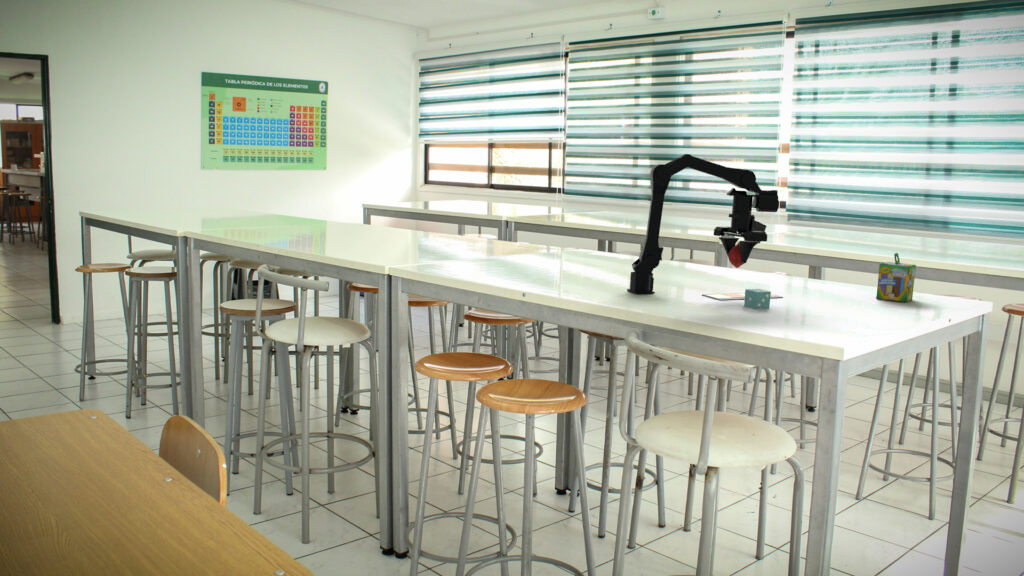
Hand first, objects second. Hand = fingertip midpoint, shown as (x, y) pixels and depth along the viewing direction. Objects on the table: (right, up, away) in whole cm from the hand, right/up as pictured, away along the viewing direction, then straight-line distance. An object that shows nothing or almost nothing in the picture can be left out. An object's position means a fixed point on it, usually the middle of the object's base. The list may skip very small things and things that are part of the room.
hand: (737, 261), depth 244 cm
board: (+2, -11, +3) cm, 11 cm away
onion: (0, -2, 0) cm, 2 cm away
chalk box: (+53, -12, +10) cm, 55 cm away
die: (+1, -14, -15) cm, 20 cm away
